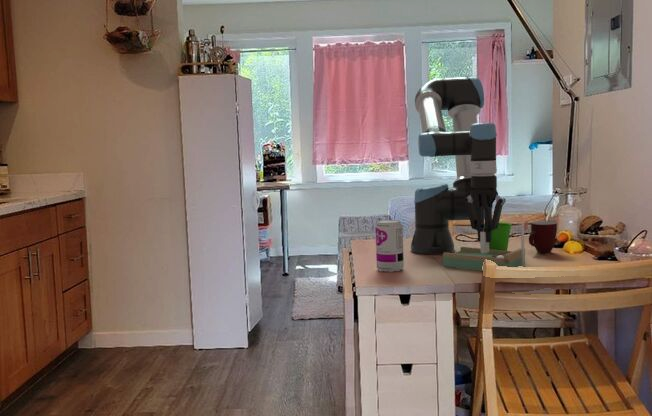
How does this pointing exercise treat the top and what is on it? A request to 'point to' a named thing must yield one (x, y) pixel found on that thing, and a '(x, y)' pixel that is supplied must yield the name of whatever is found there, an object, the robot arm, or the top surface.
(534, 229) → the mug
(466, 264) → the green tray
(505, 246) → the cup
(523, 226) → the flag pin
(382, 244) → the supplement can
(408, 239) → the top surface
